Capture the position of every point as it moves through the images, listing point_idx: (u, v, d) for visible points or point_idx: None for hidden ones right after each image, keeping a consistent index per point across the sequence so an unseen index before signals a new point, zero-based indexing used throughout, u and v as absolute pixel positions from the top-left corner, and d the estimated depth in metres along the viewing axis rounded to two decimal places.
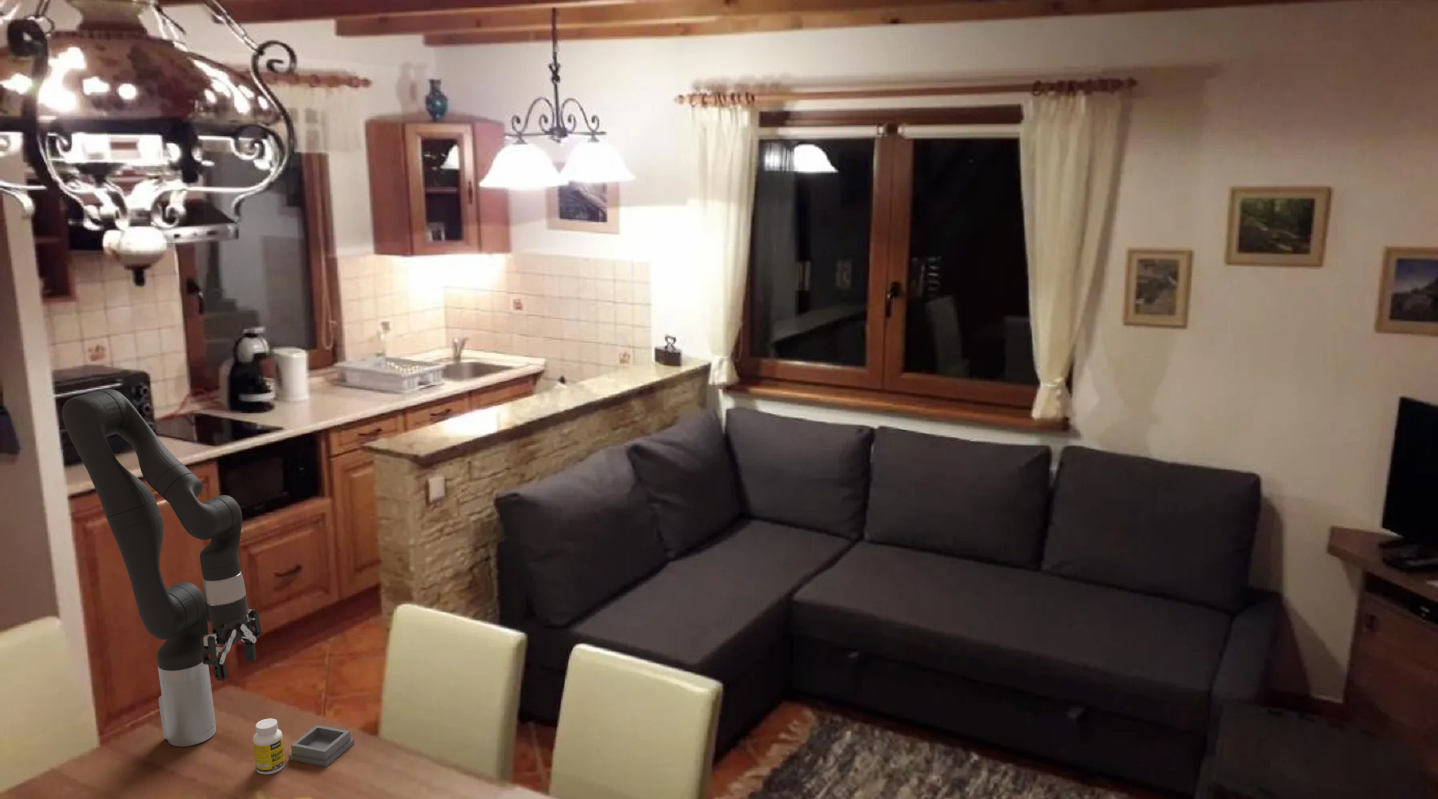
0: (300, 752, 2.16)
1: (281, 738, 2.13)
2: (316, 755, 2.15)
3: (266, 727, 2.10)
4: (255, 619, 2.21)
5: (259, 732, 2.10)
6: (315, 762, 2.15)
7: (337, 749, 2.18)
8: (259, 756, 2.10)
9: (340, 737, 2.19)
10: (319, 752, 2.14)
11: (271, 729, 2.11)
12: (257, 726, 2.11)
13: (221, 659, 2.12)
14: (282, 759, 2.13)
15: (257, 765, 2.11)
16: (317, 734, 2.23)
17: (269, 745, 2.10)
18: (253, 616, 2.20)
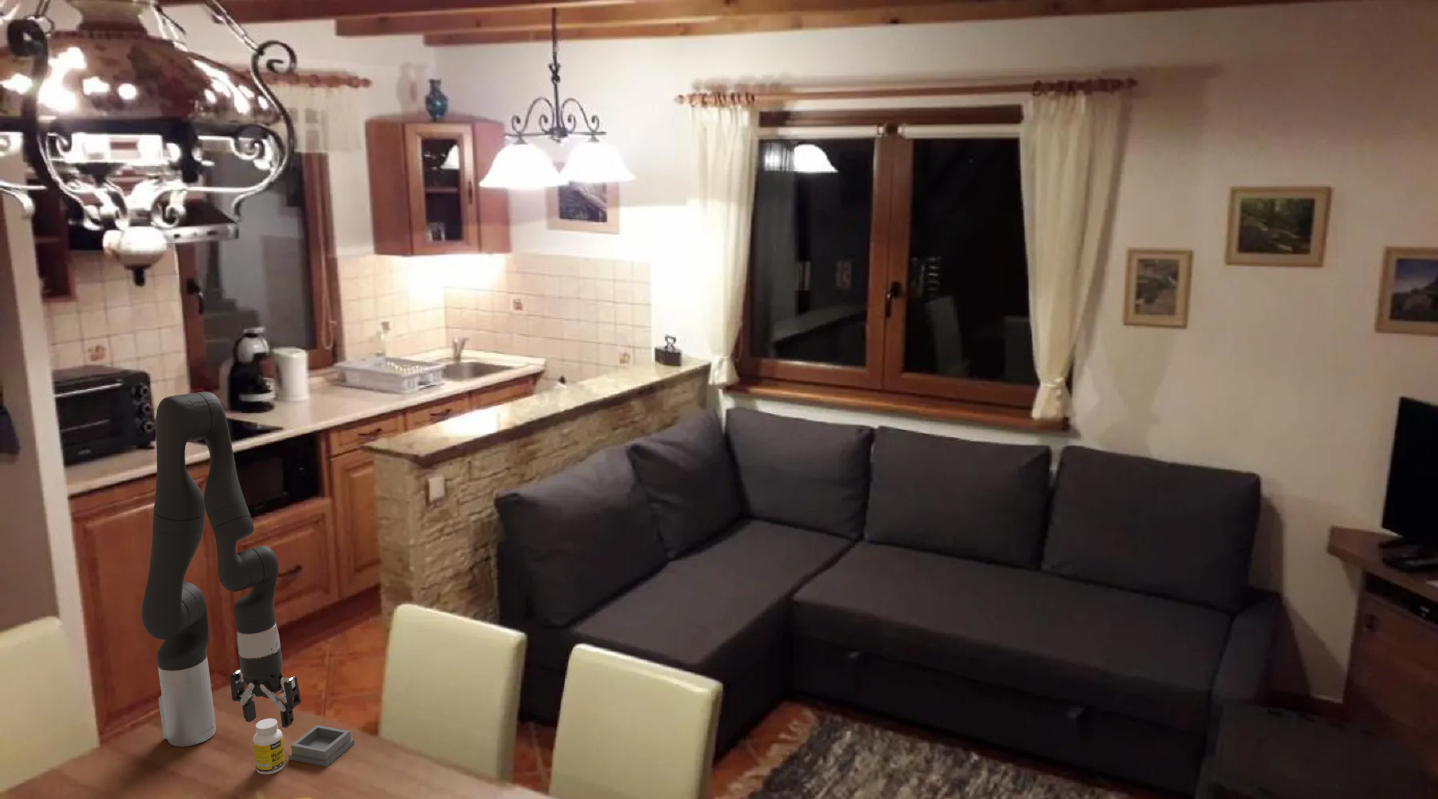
0: (300, 752, 2.16)
1: (281, 738, 2.13)
2: (316, 755, 2.15)
3: (266, 727, 2.10)
4: None
5: (259, 732, 2.10)
6: (315, 762, 2.15)
7: (337, 749, 2.18)
8: (259, 756, 2.10)
9: (340, 737, 2.19)
10: (319, 752, 2.14)
11: (271, 729, 2.11)
12: (257, 726, 2.11)
13: None
14: (282, 759, 2.13)
15: (257, 765, 2.11)
16: (317, 734, 2.23)
17: (269, 745, 2.10)
18: None
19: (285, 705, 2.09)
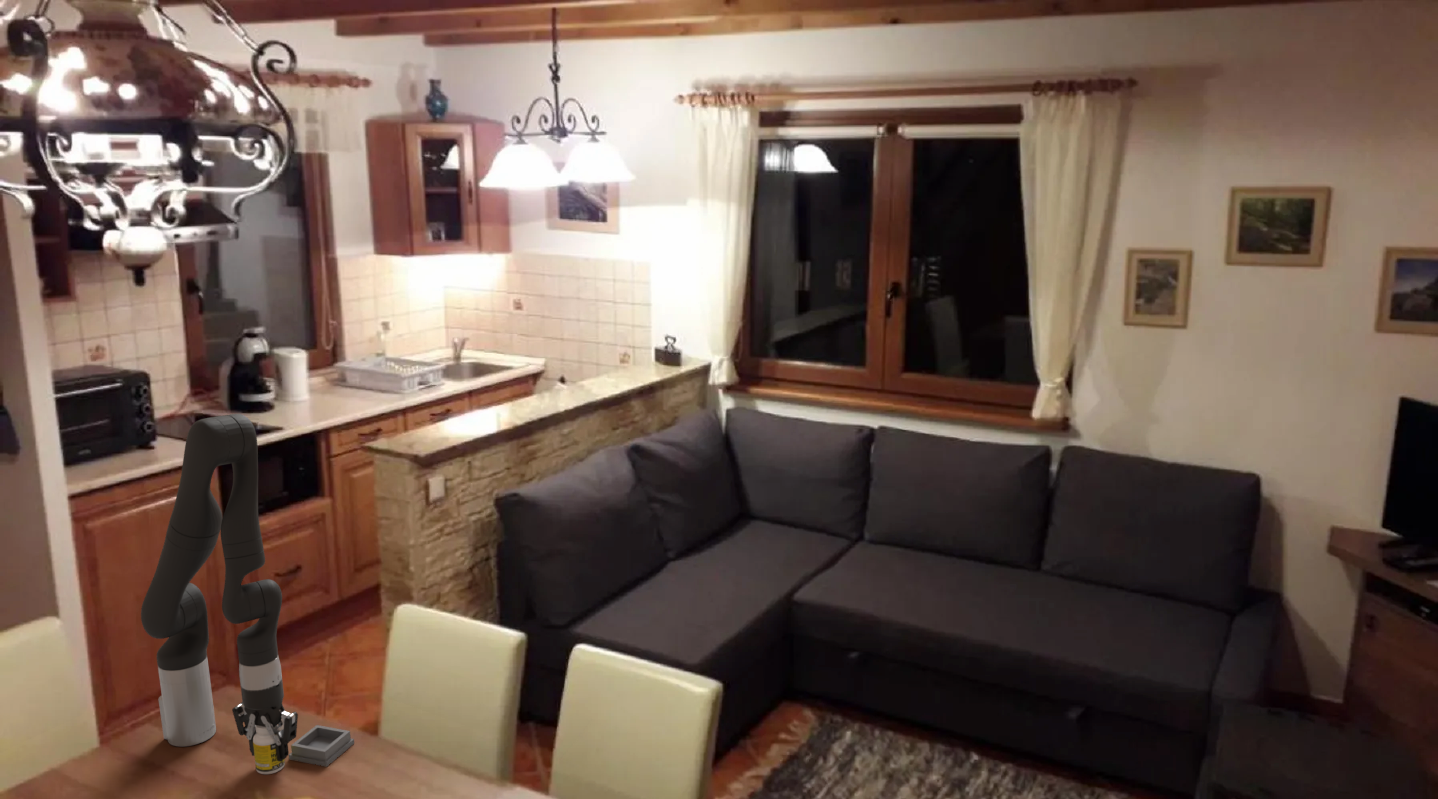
0: (300, 752, 2.16)
1: None
2: (316, 755, 2.15)
3: None
4: None
5: (259, 732, 2.10)
6: (315, 762, 2.15)
7: (337, 749, 2.18)
8: (259, 756, 2.10)
9: (340, 737, 2.19)
10: (319, 752, 2.14)
11: None
12: (257, 726, 2.11)
13: None
14: None
15: (257, 765, 2.11)
16: (317, 734, 2.23)
17: (269, 745, 2.10)
18: None
19: (280, 739, 2.10)
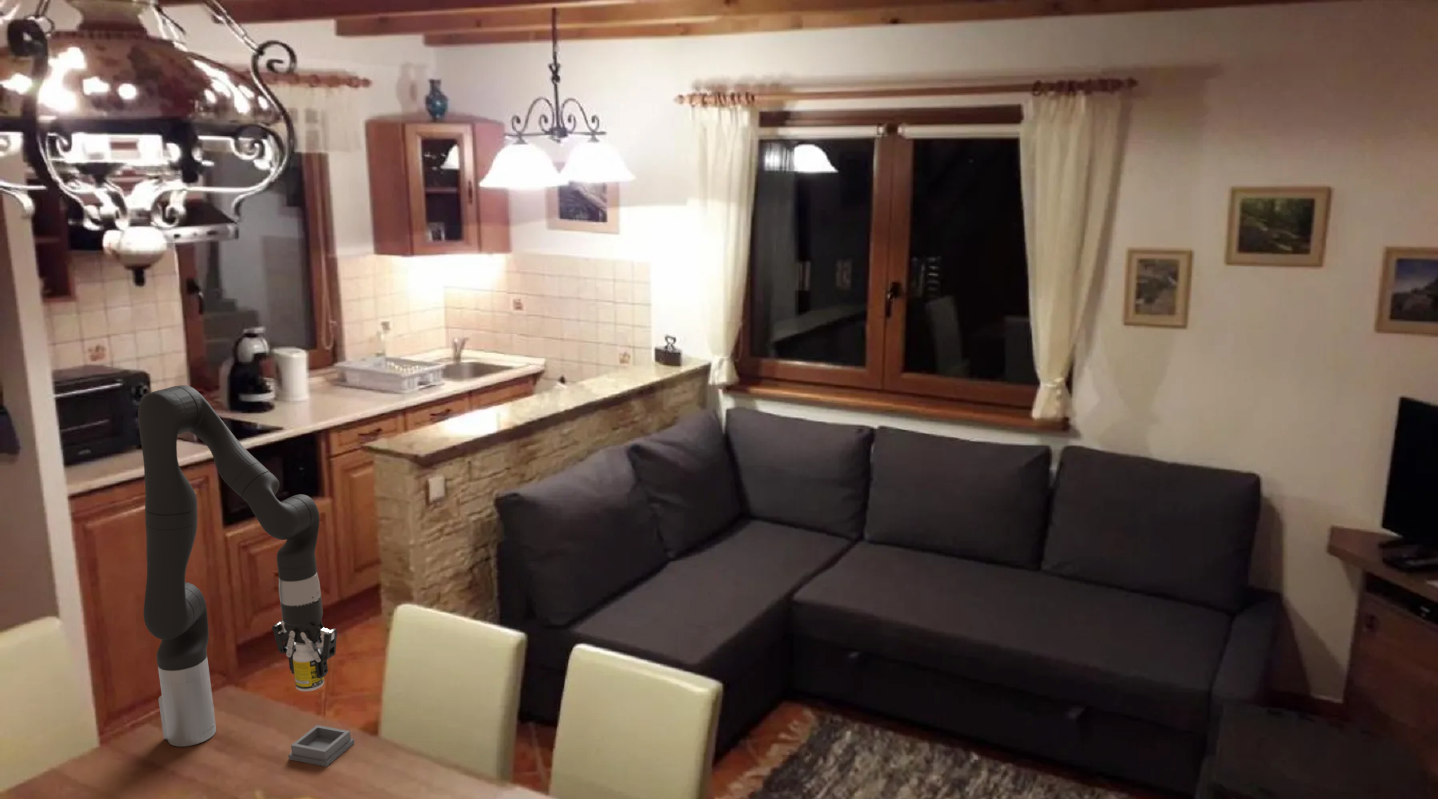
0: (300, 752, 2.16)
1: None
2: (316, 755, 2.15)
3: None
4: None
5: (299, 649, 2.11)
6: (315, 762, 2.15)
7: (337, 749, 2.18)
8: (299, 672, 2.12)
9: (340, 737, 2.19)
10: (319, 752, 2.14)
11: None
12: (297, 643, 2.12)
13: None
14: None
15: (297, 682, 2.13)
16: (317, 734, 2.23)
17: (309, 662, 2.11)
18: None
19: (320, 656, 2.11)
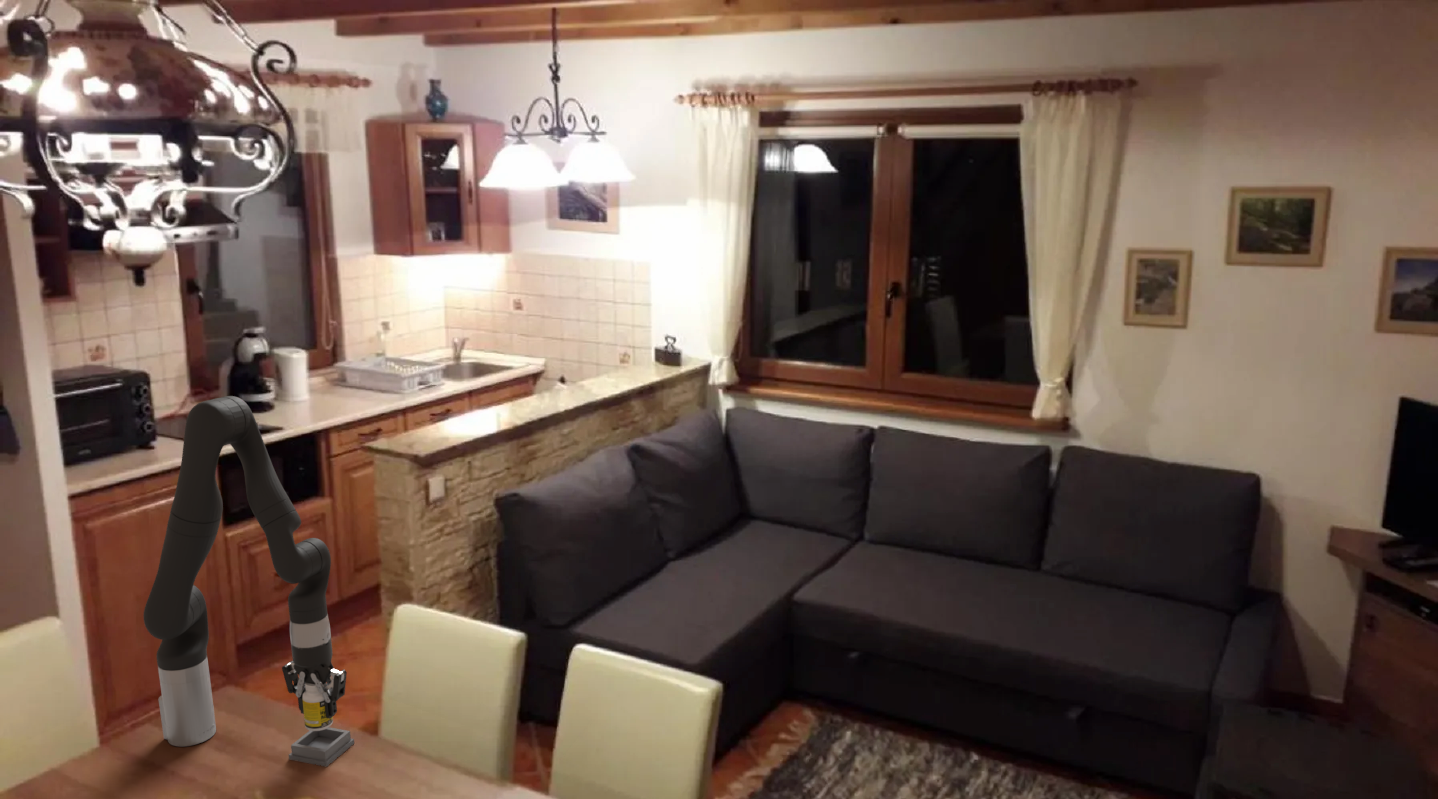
0: (300, 752, 2.16)
1: None
2: (316, 755, 2.15)
3: (315, 685, 2.14)
4: None
5: (309, 689, 2.14)
6: (315, 762, 2.15)
7: (337, 749, 2.18)
8: (309, 713, 2.15)
9: (340, 737, 2.19)
10: (319, 752, 2.14)
11: None
12: (306, 684, 2.15)
13: None
14: None
15: (306, 722, 2.16)
16: (317, 734, 2.23)
17: (319, 702, 2.15)
18: None
19: (329, 696, 2.15)
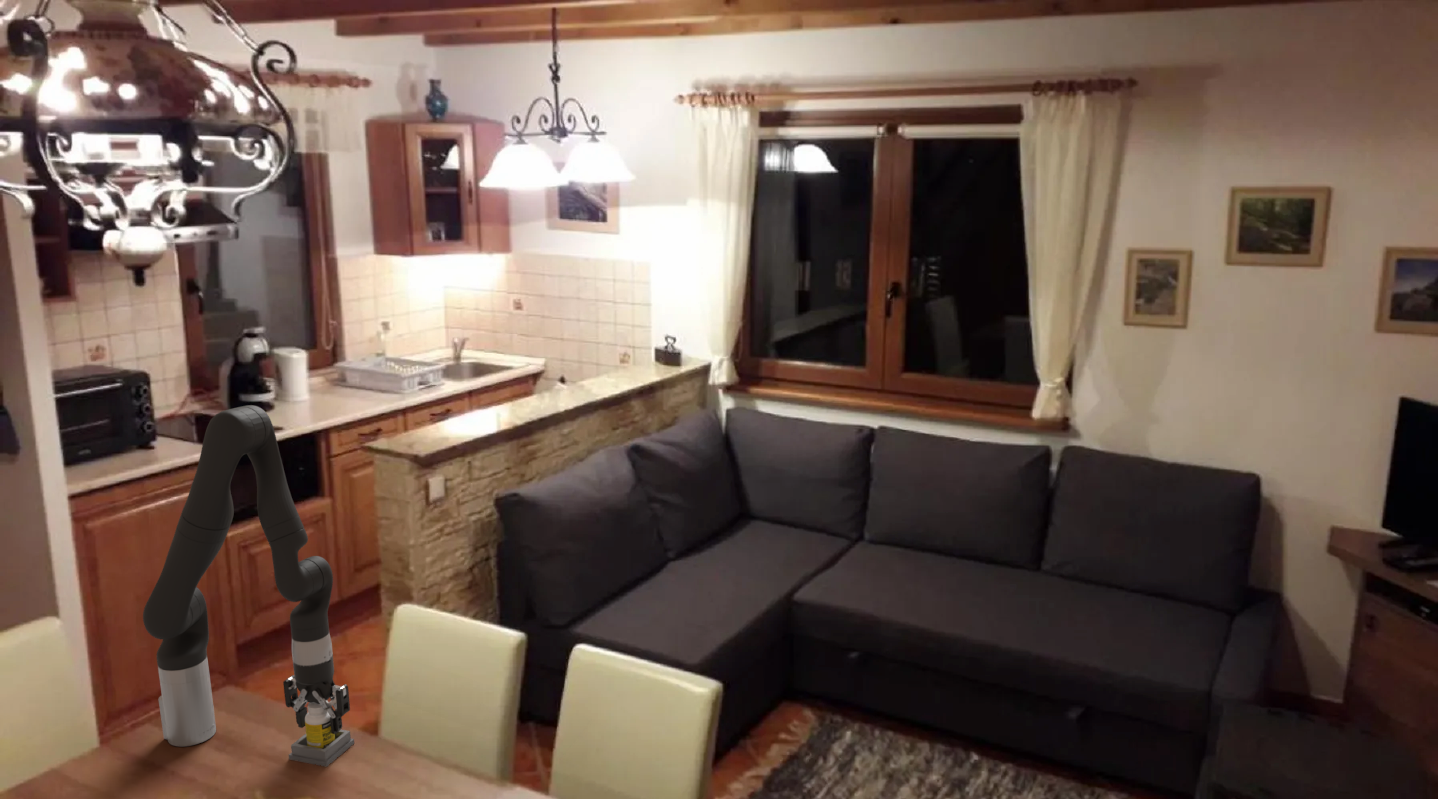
0: (300, 752, 2.16)
1: None
2: (316, 755, 2.15)
3: (318, 707, 2.16)
4: None
5: (311, 712, 2.15)
6: (315, 762, 2.15)
7: (337, 749, 2.18)
8: (311, 735, 2.16)
9: (340, 737, 2.19)
10: (319, 752, 2.14)
11: (323, 709, 2.16)
12: (309, 706, 2.16)
13: None
14: (333, 738, 2.19)
15: (309, 744, 2.17)
16: None
17: (321, 725, 2.16)
18: None
19: (335, 712, 2.15)
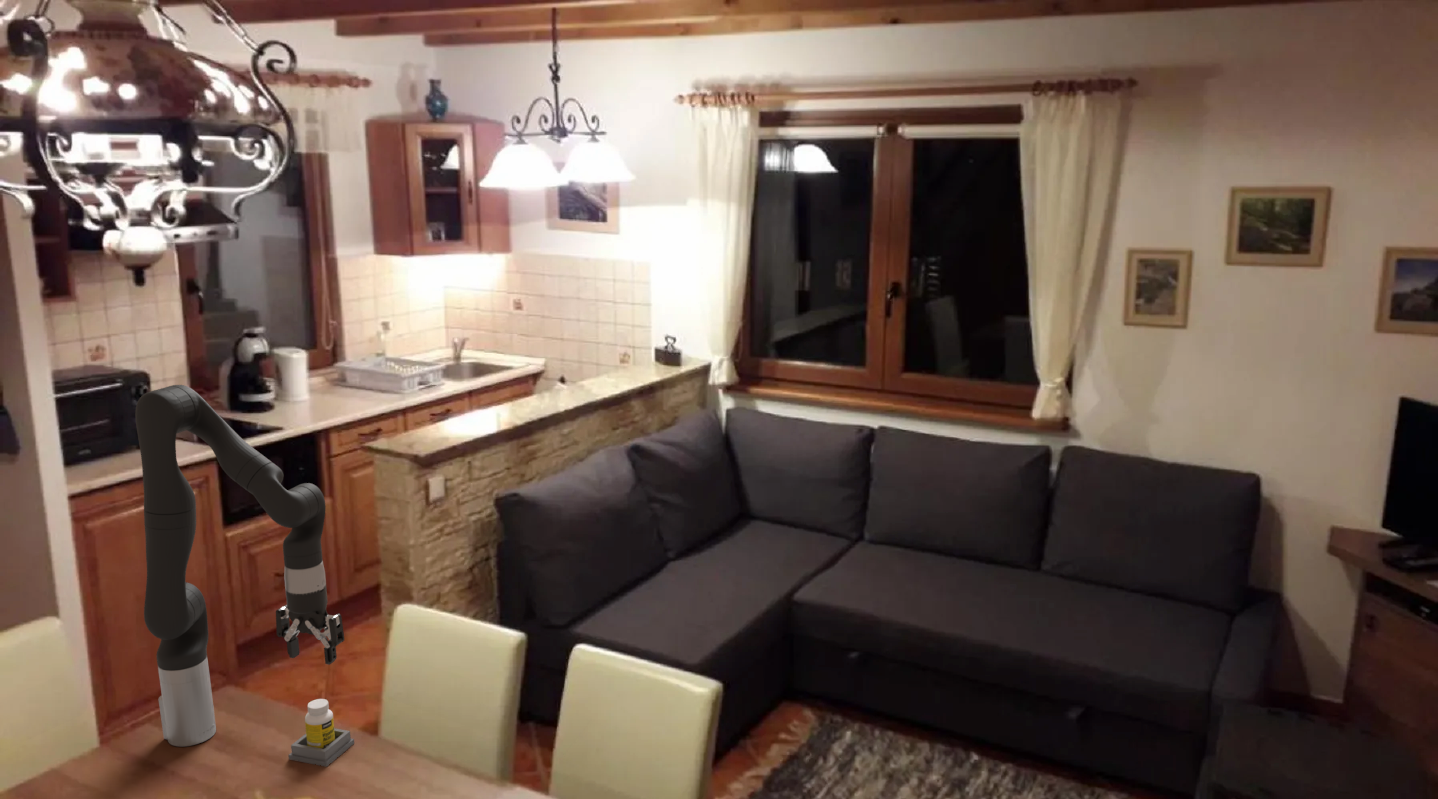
0: (300, 752, 2.16)
1: (332, 718, 2.18)
2: (316, 755, 2.15)
3: (318, 707, 2.16)
4: None
5: (311, 712, 2.15)
6: (315, 762, 2.15)
7: (337, 749, 2.18)
8: (311, 735, 2.16)
9: (340, 737, 2.19)
10: (319, 752, 2.14)
11: (323, 709, 2.16)
12: (309, 706, 2.16)
13: None
14: (333, 738, 2.19)
15: (309, 744, 2.17)
16: None
17: (321, 725, 2.16)
18: None
19: (329, 642, 2.12)
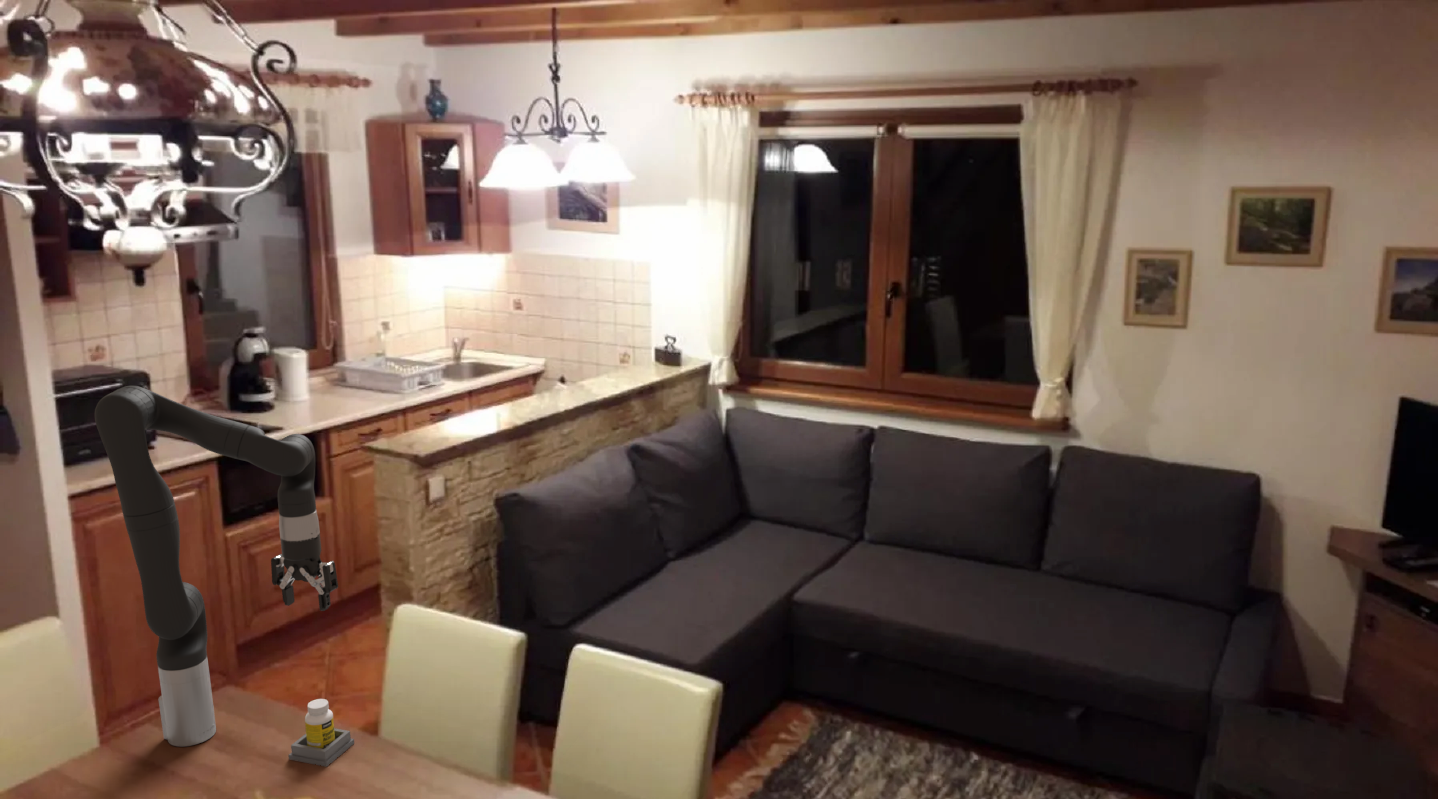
0: (300, 752, 2.16)
1: (332, 718, 2.18)
2: (316, 755, 2.15)
3: (318, 707, 2.16)
4: None
5: (311, 712, 2.15)
6: (315, 762, 2.15)
7: (337, 749, 2.18)
8: (311, 735, 2.16)
9: (340, 737, 2.19)
10: (319, 752, 2.14)
11: (323, 709, 2.16)
12: (309, 706, 2.16)
13: None
14: (333, 738, 2.19)
15: (309, 744, 2.17)
16: None
17: (321, 725, 2.16)
18: None
19: (323, 588, 2.18)
